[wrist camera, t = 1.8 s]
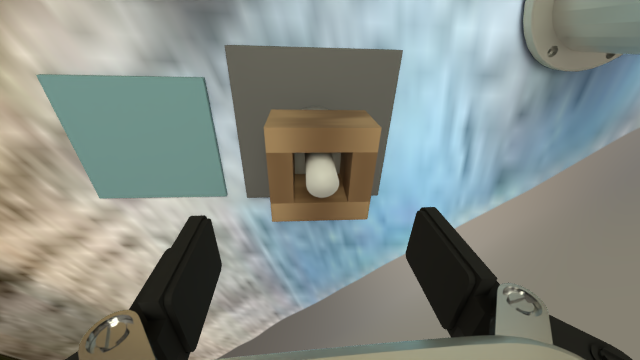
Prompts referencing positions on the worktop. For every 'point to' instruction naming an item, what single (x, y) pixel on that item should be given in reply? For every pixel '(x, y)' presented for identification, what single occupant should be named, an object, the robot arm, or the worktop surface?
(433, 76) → the worktop surface
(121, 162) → the mat
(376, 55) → the stand
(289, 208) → the walnut link
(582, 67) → the robot arm
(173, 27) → the worktop surface
